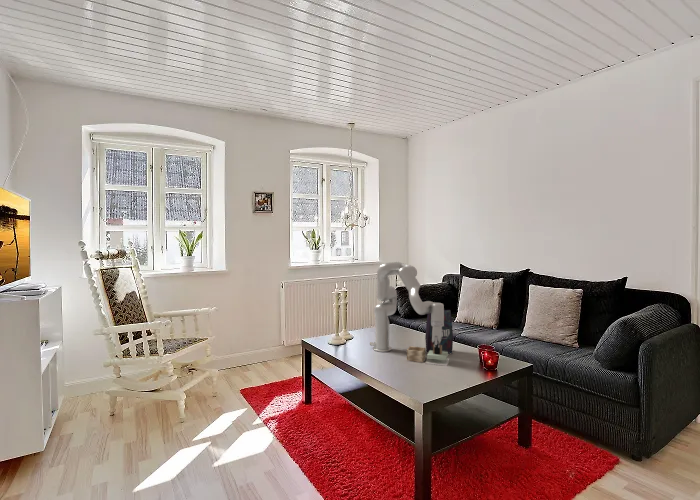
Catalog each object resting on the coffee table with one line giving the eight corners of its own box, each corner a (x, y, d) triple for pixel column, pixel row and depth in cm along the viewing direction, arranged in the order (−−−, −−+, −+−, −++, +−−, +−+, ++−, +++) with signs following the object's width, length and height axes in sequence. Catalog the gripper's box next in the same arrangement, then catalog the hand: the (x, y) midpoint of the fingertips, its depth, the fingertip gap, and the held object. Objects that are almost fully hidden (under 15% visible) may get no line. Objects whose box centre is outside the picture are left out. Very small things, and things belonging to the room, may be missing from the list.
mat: (424, 363, 237) (424, 362, 237) (428, 357, 249) (428, 356, 249) (446, 365, 233) (447, 365, 233) (449, 359, 245) (449, 358, 245)
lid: (427, 358, 238) (427, 346, 238) (429, 353, 247) (429, 342, 247) (446, 360, 234) (445, 348, 234) (447, 355, 244) (447, 343, 243)
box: (406, 360, 243) (406, 350, 243) (409, 356, 251) (409, 346, 251) (423, 362, 239) (423, 351, 239) (425, 357, 248) (425, 347, 248)
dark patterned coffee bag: (453, 353, 257) (453, 311, 256) (429, 354, 255) (429, 311, 254) (448, 350, 265) (448, 308, 264) (425, 351, 263) (425, 309, 262)
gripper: (433, 320, 249) (433, 348, 250) (429, 325, 234) (429, 356, 234) (445, 320, 246) (445, 349, 247) (442, 326, 231) (442, 357, 232)
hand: (437, 352), depth 241 cm, fingers closed on lid, 3 cm apart
